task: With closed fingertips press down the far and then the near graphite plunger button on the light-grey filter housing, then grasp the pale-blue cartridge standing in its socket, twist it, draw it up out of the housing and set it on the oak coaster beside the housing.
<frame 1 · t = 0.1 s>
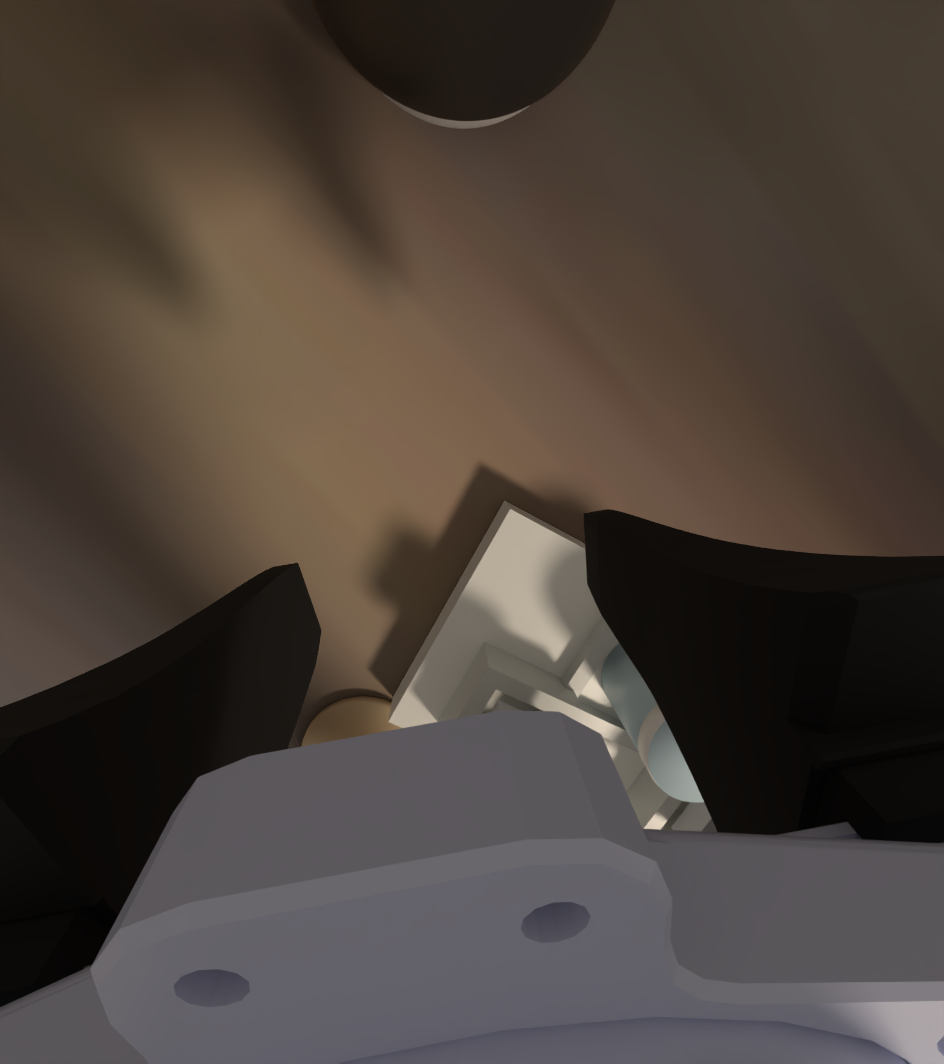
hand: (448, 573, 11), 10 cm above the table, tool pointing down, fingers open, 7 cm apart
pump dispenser: (459, 26, 17), on the table
cartridge: (645, 673, 22), point 2 cm above the table, touching housing
coaster: (364, 747, 25), on the table
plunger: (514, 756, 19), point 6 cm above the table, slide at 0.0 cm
housing: (601, 678, 25), on the table
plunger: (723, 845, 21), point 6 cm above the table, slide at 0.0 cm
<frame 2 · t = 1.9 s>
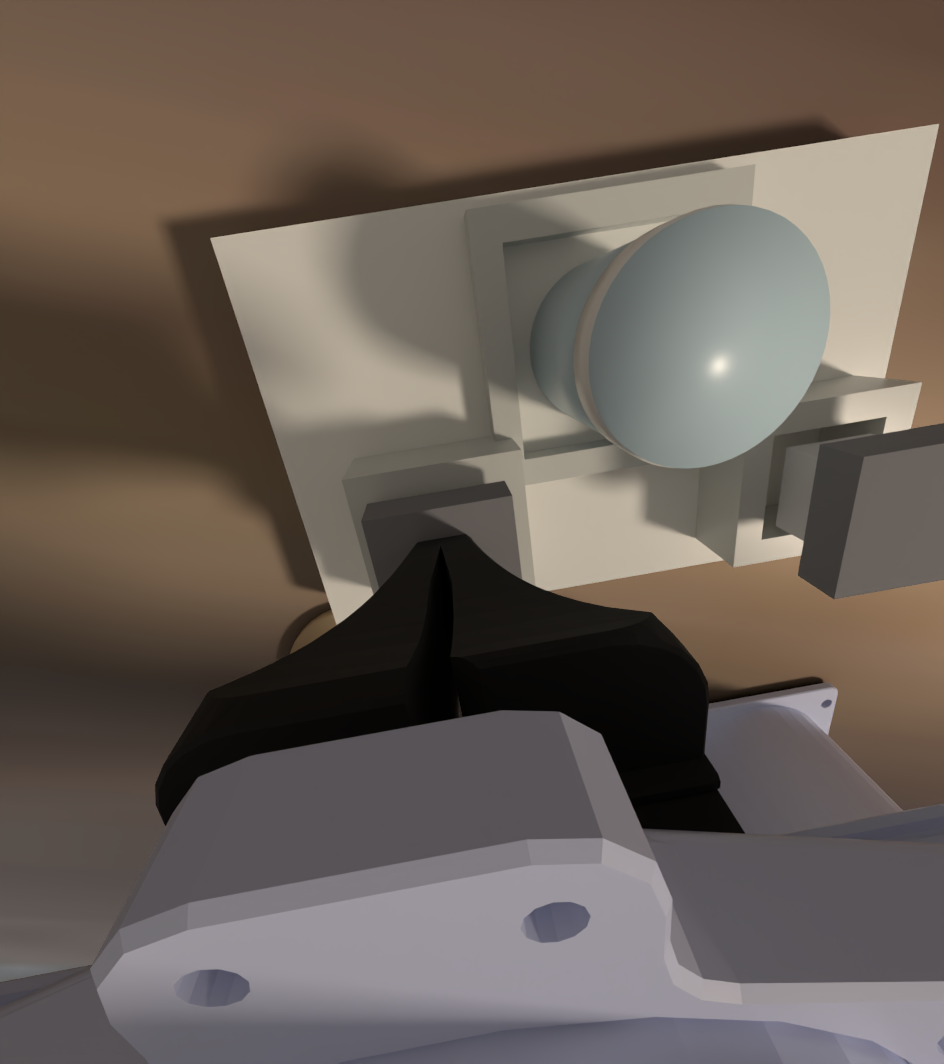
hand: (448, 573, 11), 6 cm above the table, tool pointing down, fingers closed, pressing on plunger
cartridge: (604, 344, 13), point 2 cm above the table, touching housing
coaster: (367, 666, 20), on the table
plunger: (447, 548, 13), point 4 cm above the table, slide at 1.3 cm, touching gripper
housing: (571, 406, 16), on the table
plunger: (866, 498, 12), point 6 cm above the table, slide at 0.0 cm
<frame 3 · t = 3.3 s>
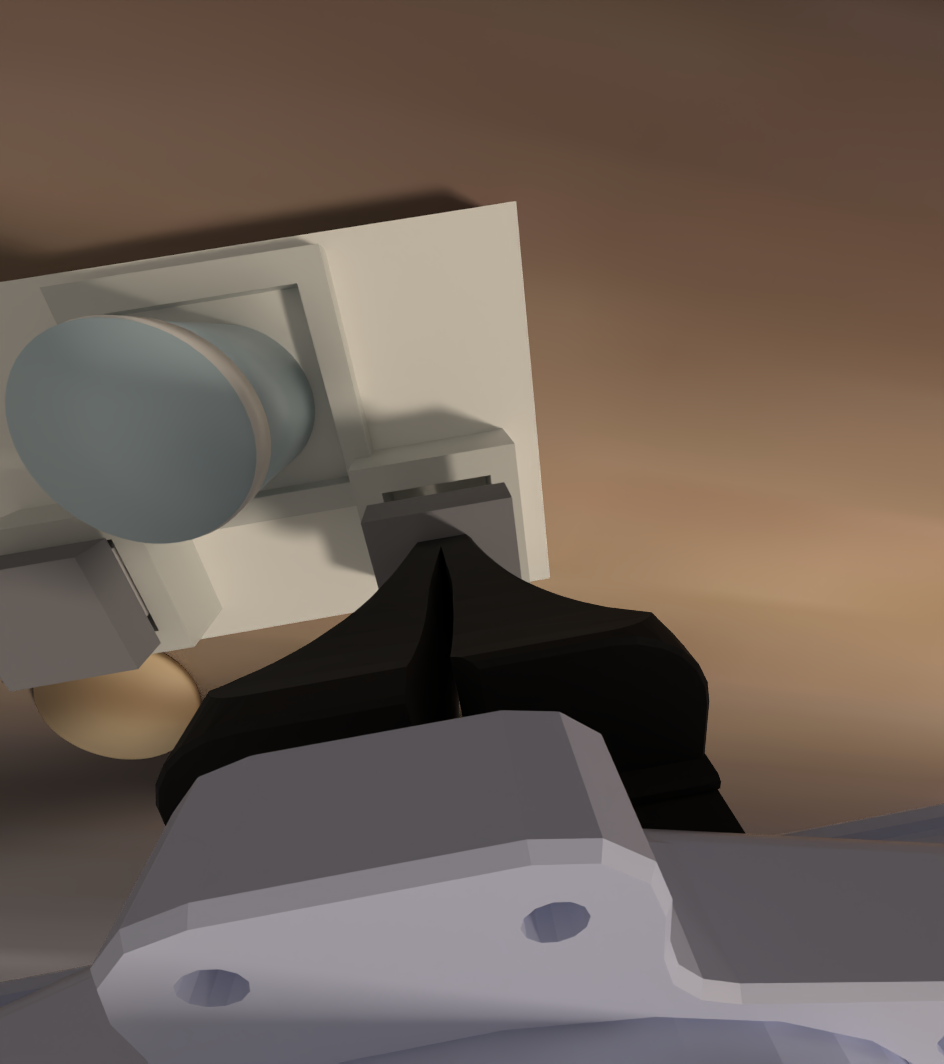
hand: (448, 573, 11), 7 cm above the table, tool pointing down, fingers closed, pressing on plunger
cartridge: (240, 403, 14), point 2 cm above the table, touching housing
coaster: (124, 697, 20), on the table
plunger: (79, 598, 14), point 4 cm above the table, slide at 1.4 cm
housing: (267, 453, 17), on the table
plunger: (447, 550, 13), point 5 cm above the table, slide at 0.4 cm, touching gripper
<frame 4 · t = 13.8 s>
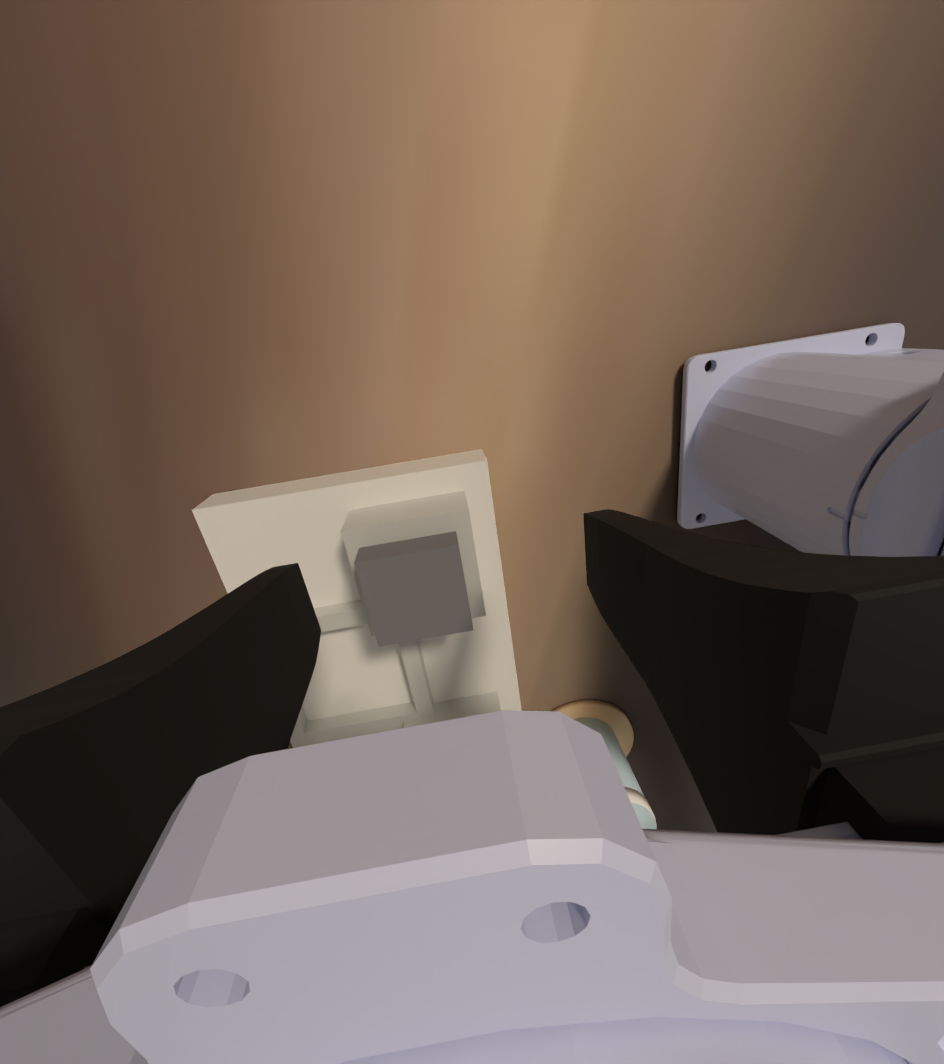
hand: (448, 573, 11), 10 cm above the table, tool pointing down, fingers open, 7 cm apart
cartridge: (579, 744, 28), resting on coaster
coaster: (579, 739, 28), on the table
housing: (394, 643, 24), on the table
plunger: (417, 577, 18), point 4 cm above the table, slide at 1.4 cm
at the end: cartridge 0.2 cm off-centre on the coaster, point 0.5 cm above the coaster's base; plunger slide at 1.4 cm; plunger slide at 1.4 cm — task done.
